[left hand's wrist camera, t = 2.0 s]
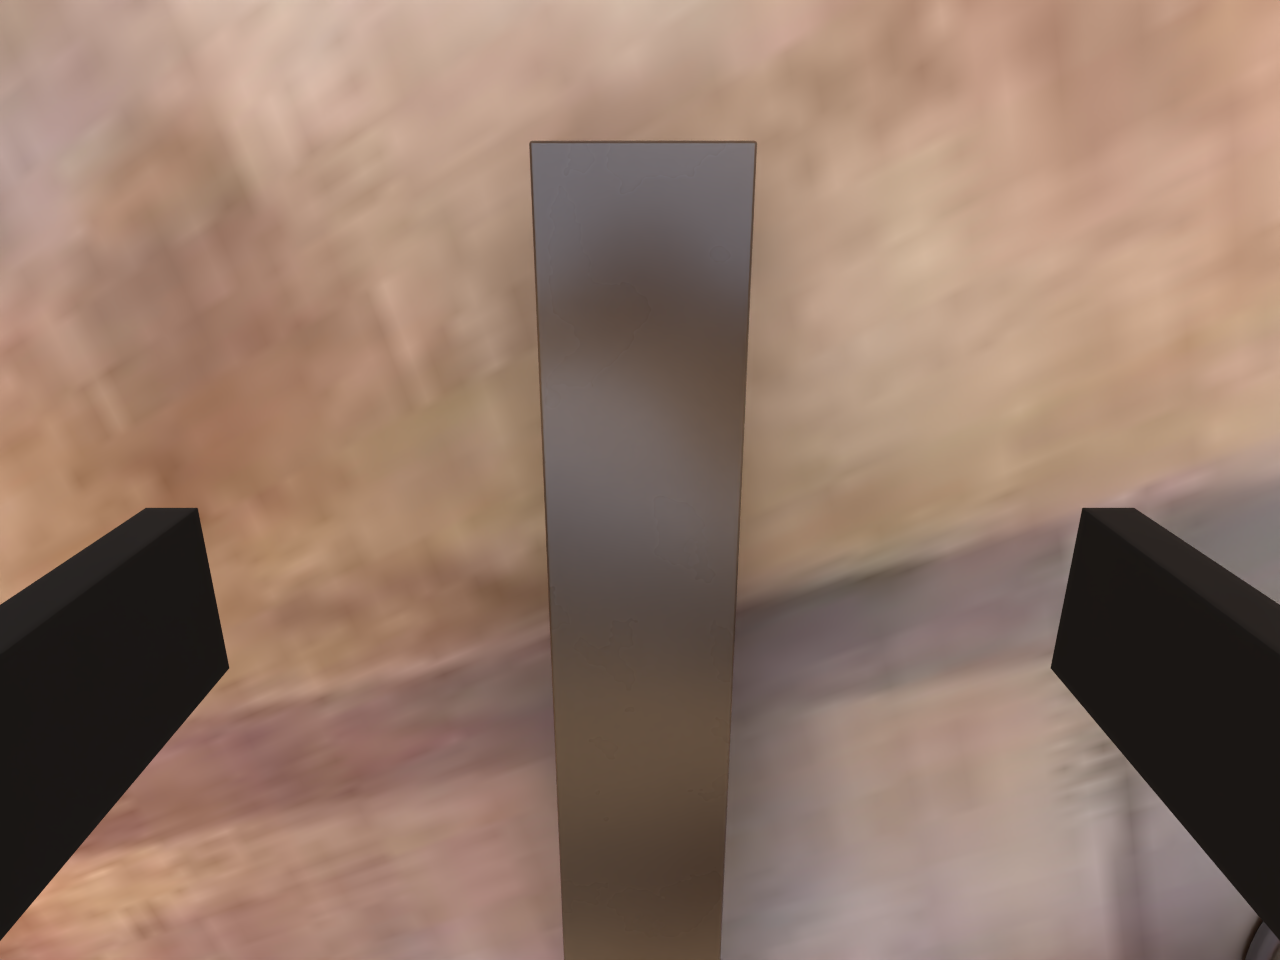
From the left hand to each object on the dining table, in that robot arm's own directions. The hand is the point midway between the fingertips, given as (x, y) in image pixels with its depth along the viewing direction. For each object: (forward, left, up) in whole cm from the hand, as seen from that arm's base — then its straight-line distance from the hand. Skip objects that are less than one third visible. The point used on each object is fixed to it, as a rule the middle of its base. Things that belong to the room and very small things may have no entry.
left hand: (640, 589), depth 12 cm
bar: (-25, +11, -14) cm, 31 cm away
